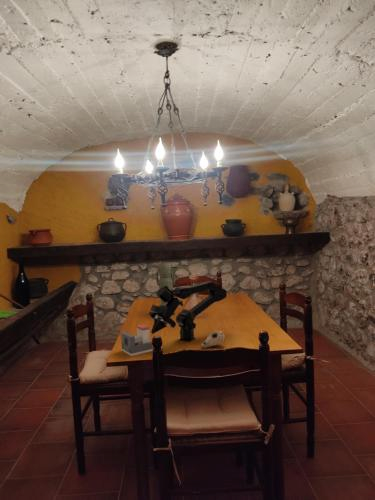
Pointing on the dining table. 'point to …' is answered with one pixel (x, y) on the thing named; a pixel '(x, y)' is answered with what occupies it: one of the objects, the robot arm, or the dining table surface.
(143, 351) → the board
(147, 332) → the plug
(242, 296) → the dining table surface
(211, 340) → the pottery oil lamp
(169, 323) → the robot arm
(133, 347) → the grey toy building
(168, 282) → the thermos
